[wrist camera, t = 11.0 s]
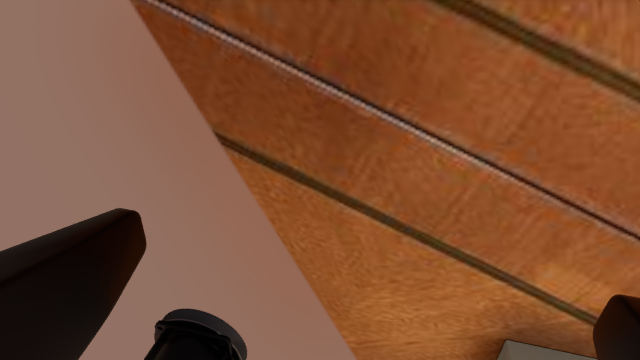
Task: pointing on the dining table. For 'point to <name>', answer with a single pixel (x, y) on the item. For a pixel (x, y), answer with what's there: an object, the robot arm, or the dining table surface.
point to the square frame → (534, 353)
